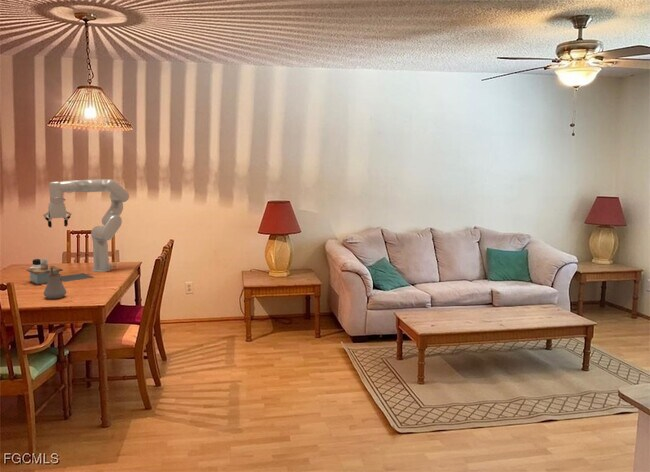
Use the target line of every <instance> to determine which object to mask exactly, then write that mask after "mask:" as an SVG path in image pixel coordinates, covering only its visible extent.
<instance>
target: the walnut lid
mask: <svg viewBox="0 0 650 472" xmlns="http://www.w3.org/2000/svg"><path fill="white" fill-rule="evenodd" d="M40 259H41V260H40V261H41V267H39V268H30V267H29V268H26V272H28V273H30V272H31V273H33V274H43V273H51V268H50V267H53V268H54V269H53V272H59V273H60V272H63V270H64V269H63V268H61V267H58V266H56V265H55V266H54V265H49V260H48V258H43V259H42V258H40ZM49 268H50V269H49Z"/></svg>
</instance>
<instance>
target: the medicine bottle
mask: <svg viewBox="0 0 650 472" xmlns="http://www.w3.org/2000/svg"><path fill="white" fill-rule="evenodd" d="M41 259H42V258H34V259H32V266H30V267H29V269H30V268H39V267H41V261H40V260H41Z"/></svg>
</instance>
